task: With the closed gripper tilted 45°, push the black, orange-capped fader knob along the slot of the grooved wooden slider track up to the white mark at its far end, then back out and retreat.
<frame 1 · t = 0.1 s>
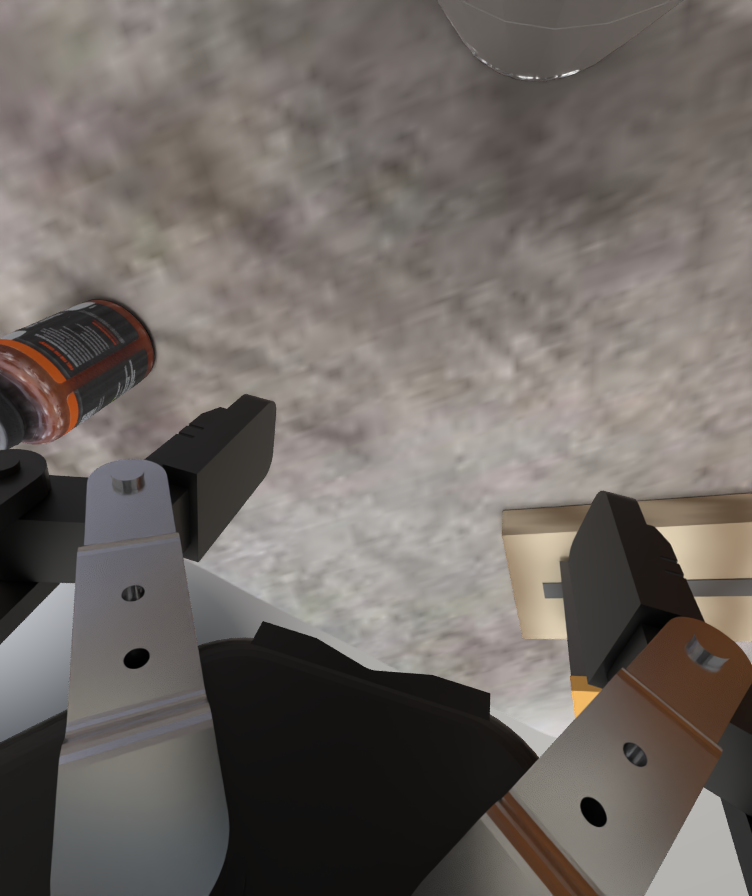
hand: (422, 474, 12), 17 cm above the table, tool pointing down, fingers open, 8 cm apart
supplement bottle: (119, 339, 34), on the table
fader knob: (602, 653, 28), point 7 cm above the table, slide at -7.0 cm
grooved wooden slider track: (703, 557, 32), on the table
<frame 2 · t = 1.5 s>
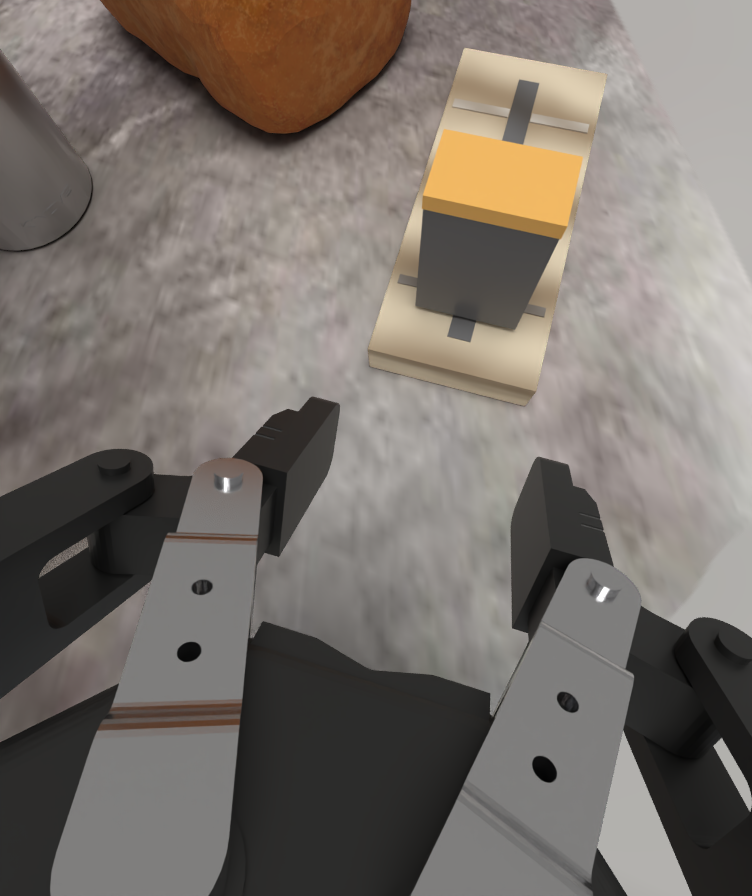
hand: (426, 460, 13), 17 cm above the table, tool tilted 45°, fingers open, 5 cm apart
fader knob: (484, 243, 25), point 7 cm above the table, slide at -7.0 cm
grooved wooden slider track: (489, 228, 34), on the table
bread: (262, 35, 40), on the table
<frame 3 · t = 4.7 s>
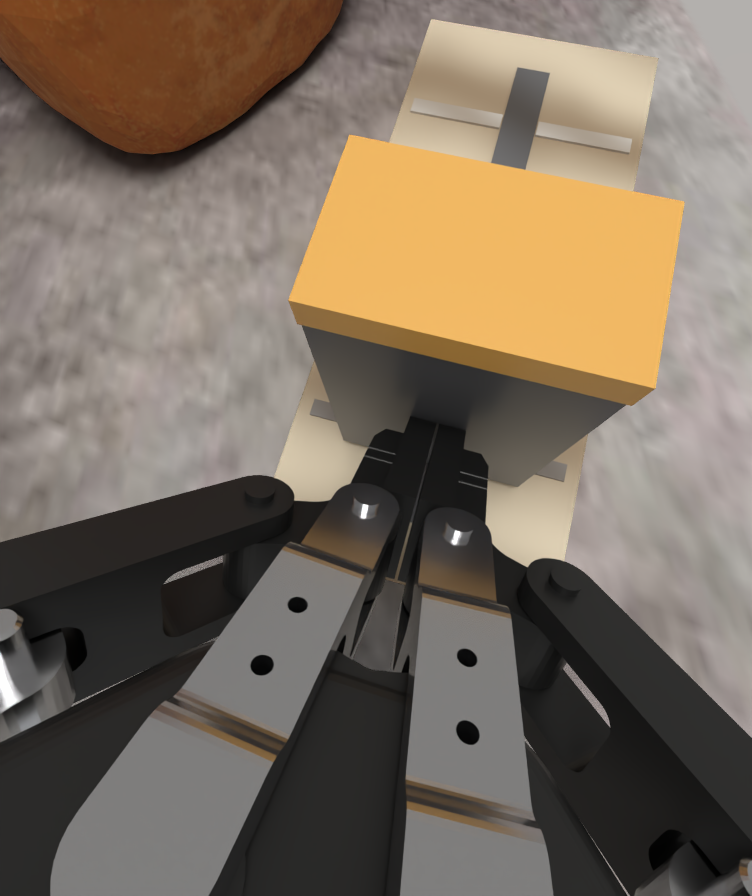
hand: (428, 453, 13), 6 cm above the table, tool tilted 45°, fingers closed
fader knob: (457, 360, 13), point 7 cm above the table, slide at -6.2 cm, touching gripper
grooved wooden slider track: (470, 304, 21), on the table
bread: (141, 8, 27), on the table
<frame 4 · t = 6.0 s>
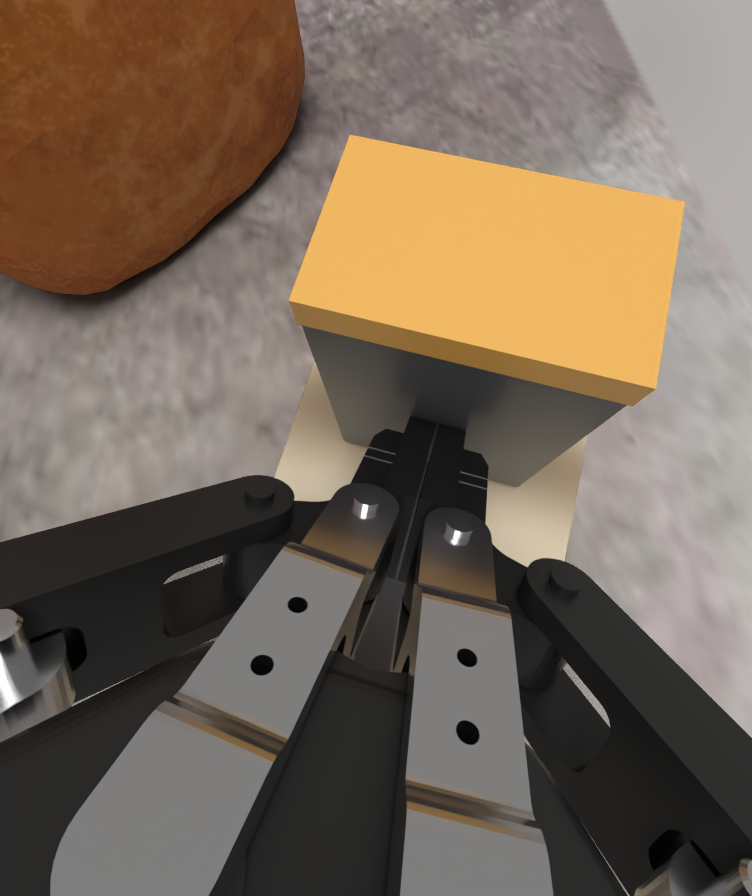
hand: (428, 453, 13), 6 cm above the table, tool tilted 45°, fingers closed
fader knob: (457, 360, 13), point 7 cm above the table, slide at 1.3 cm, touching gripper
grooved wooden slider track: (427, 468, 19), on the table
bread: (84, 114, 25), on the table
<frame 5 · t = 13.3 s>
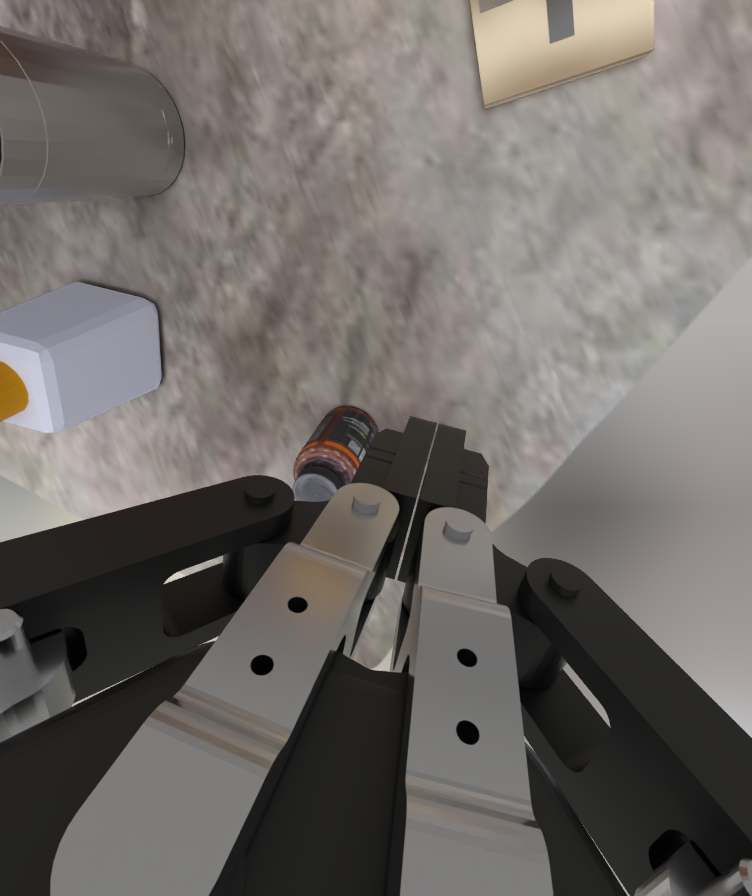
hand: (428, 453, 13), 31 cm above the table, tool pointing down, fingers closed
soap bottle: (104, 329, 51), on the table
supplement bottle: (351, 430, 50), on the table
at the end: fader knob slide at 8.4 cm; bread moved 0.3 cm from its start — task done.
